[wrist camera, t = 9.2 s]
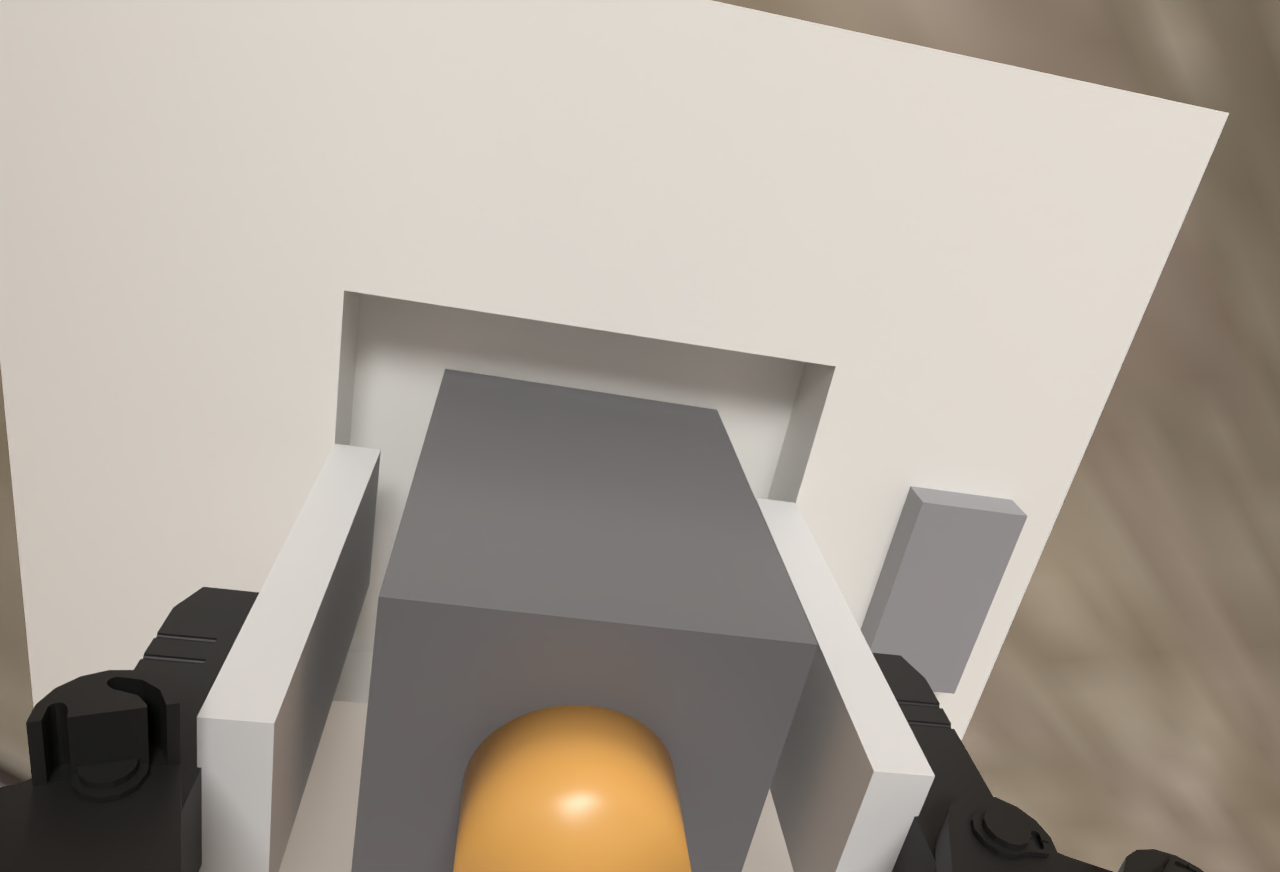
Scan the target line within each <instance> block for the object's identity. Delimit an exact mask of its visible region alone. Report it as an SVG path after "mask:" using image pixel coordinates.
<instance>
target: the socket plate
mask: <svg viewBox="0 0 1280 872" xmlns="http://www.w3.org/2000/svg"><path fill="white" fill-rule="evenodd" d="M1228 115H1229V113H1226V112H1221V111H1217V110H1212V109H1207V108H1203V107H1198V106H1194V105H1189V104H1184V103H1180V102H1175V101H1171V100H1166V99H1161V98H1157V97H1152V96H1148V95H1143V94H1139V93H1134V92H1129V91H1125V90H1120V89H1116V88H1111V87H1106V86H1102V85H1097V84H1093V83H1088V82H1083V81H1079V80H1074V79H1070V78H1065V77H1061V76H1056V75H1051V74H1047V73H1042V72H1038V71H1033V70H1028V69H1024V68H1019V67H1015V66H1010V65H1005V64H1001V63H996V62H992V61H987V60H982V59H978V58H973V57H969V56H964V55H960V54H955V53H950V52H946V51H941V50H937V49H932V48H927V47H923V46H918V45H914V44H909V43H904V42H900V41H895V40H891V39H886V38H882V37H877V36H872V35H868V34H863V33H859V32H854V31H849V30H845V29H840V28H836V27H831V26H826V25H822V24H817V23H813V22H808V21H803V20H799V19H794V18H790V17H785V16H781V15H776V14H771V13H767V12H762V11H758V10H753V9H748V8H744V7H739V6H735V5H730V4H725V3H721V2H716V1H712V0H0V364H1V375H2V385H3V395H4V406H5V416H6V426H7V437H8V447H9V457H10V468H11V478H12V489H13V499H14V509H15V520H16V530H17V540H18V551H19V561H20V571H21V582H22V592H23V602H24V613H25V623H26V633H27V644H28V654H29V665H30V675H31V685H32V696H33V706H34V707H35V705H36V704H37V703H38V702H39V701H40V700H41V699H43V698H44V697H45V696H46V695H47V694H49V693H50V692H51V691H52V690H53V689H55V688H56V687H59V686H61V685H63V684H65V683H67V682H69V681H72V680H74V679H76V678H78V677H80V676H84V675H89V674H93V673H98V672H102V671H107V670H134V668H135V667H136V665H137V664H138V662H139V660H140V659H143V656H144V653H145V651H146V649H147V648H148V646H149V645H150V643H151V642H152V640H153V638H156V637H157V632H158V631H159V629H160V627H161V626H162V624H163V623H164V621H165V620H166V618H167V616H168V615H169V613H170V612H171V610H172V609H173V607H174V606H176V605H177V604H179V603H180V602H182V601H183V600H185V599H186V598H188V597H189V596H191V595H192V594H193V593H195V592H196V591H198V590H199V589H201V588H202V587H211V588H221V589H230V590H240V591H250V592H260V590H261V589H262V587H263V585H264V583H265V581H266V579H267V577H268V575H269V573H270V571H271V569H272V567H273V565H274V563H275V561H276V559H277V557H278V555H279V553H280V551H281V549H282V547H283V545H284V543H285V541H286V539H287V537H288V535H289V533H290V531H291V529H292V527H293V525H294V523H295V521H296V519H297V517H298V515H299V513H300V511H301V509H302V507H303V505H304V503H305V501H306V499H307V497H308V495H309V493H310V491H311V489H312V487H313V485H314V483H315V481H316V479H317V477H318V475H319V473H320V471H321V469H322V467H323V465H324V463H325V461H326V459H327V457H328V455H329V453H330V451H331V449H332V447H333V445H335V444H341V445H349V446H357V447H364V448H372V449H380V450H381V453H380V465H379V477H378V489H377V501H376V513H375V524H374V536H373V548H372V560H371V572H370V584H369V588H368V591H367V594H366V597H365V600H364V604H363V607H362V610H361V613H360V616H359V619H358V622H357V626H356V629H355V632H354V635H353V638H352V641H351V645H350V648H349V651H348V654H347V657H346V660H345V664H344V667H343V670H342V673H341V676H340V679H339V683H338V686H337V689H336V692H335V695H334V698H333V701H332V705H331V708H330V711H329V714H328V717H327V720H326V724H325V727H324V730H323V733H322V736H321V739H320V743H319V746H318V749H317V752H316V755H315V758H314V761H313V765H312V768H311V771H310V774H309V777H308V780H307V784H306V787H305V790H304V793H303V796H302V799H301V803H300V806H299V809H298V812H297V815H296V818H295V822H294V825H293V828H292V831H291V834H290V837H289V840H288V844H287V847H286V850H285V853H284V856H283V859H282V863H281V866H280V869H279V872H351V869H352V858H353V848H354V838H355V828H356V818H357V808H358V798H359V788H360V778H361V768H362V758H363V748H364V738H365V728H366V718H367V708H368V698H369V687H370V677H371V667H372V657H373V647H374V637H375V627H376V617H377V607H378V597H379V593H380V590H381V586H382V583H383V580H384V576H385V573H386V569H387V566H388V563H389V559H390V556H391V552H392V549H393V545H394V542H395V539H396V535H397V532H398V528H399V525H400V522H401V518H402V515H403V511H404V508H405V504H406V501H407V498H408V494H409V491H410V487H411V484H412V481H413V477H414V474H415V470H416V467H417V463H418V460H419V457H420V453H421V450H422V446H423V443H424V439H425V436H426V433H427V429H428V426H429V422H430V419H431V416H432V412H433V409H434V405H435V402H436V398H437V395H438V392H439V388H440V385H441V381H442V378H443V375H444V371H445V369H451V370H457V371H464V372H471V373H477V374H484V375H490V376H497V377H504V378H510V379H517V380H523V381H530V382H537V383H543V384H550V385H556V386H563V387H570V388H576V389H583V390H590V391H596V392H603V393H609V394H616V395H623V396H629V397H636V398H642V399H649V400H656V401H662V402H669V403H675V404H682V405H689V406H695V407H702V408H709V409H715V410H718V413H719V415H720V417H721V420H722V422H723V424H724V427H725V429H726V431H727V434H728V436H729V438H730V441H731V443H732V445H733V448H734V450H735V452H736V455H737V457H738V459H739V462H740V464H741V466H742V469H743V471H744V473H745V476H746V478H747V480H748V483H749V485H750V487H751V490H752V492H753V494H754V497H755V498H761V499H769V500H777V501H785V502H793V503H795V504H796V505H797V507H798V509H799V511H800V513H801V515H802V516H803V518H804V520H805V522H806V524H807V526H808V528H809V530H810V532H811V534H812V536H813V538H814V540H815V542H816V544H817V546H818V548H819V550H820V552H821V554H822V556H823V558H824V560H825V562H826V564H827V565H828V567H829V569H830V571H831V573H832V575H833V577H834V579H835V581H836V583H837V585H838V587H839V589H840V591H841V593H842V595H843V597H844V599H845V601H846V603H847V605H848V607H849V609H850V611H851V612H852V614H853V616H854V618H855V620H856V622H857V624H858V626H859V628H860V630H861V632H862V634H863V636H864V638H865V640H866V642H867V644H868V646H869V648H870V650H871V652H872V653H881V654H891V655H901V656H902V657H903V658H904V659H905V660H906V661H907V662H908V663H909V664H910V665H911V666H913V667H914V668H915V669H916V670H917V671H918V672H919V673H920V674H921V675H922V676H923V677H924V678H925V679H926V680H927V682H928V684H929V686H930V687H931V689H932V691H933V693H934V694H935V696H936V698H937V700H938V701H939V703H940V705H939V707H940V708H943V710H944V712H945V714H946V715H947V717H948V719H949V721H950V722H951V729H955V731H956V733H957V735H958V736H959V738H960V740H962V738H963V736H964V733H965V731H966V729H967V726H968V724H969V722H970V719H971V717H972V715H973V712H974V710H975V708H976V705H977V703H978V701H979V698H980V696H981V694H982V691H983V689H984V687H985V684H986V682H987V680H988V677H989V675H990V673H991V670H992V668H993V666H994V663H995V661H996V658H997V656H998V654H999V651H1000V649H1001V647H1002V644H1003V642H1004V640H1005V637H1006V635H1007V633H1008V630H1009V628H1010V626H1011V623H1012V621H1013V619H1014V616H1015V614H1016V612H1017V609H1018V607H1019V605H1020V602H1021V600H1022V598H1023V595H1024V593H1025V591H1026V588H1027V586H1028V583H1029V581H1030V579H1031V576H1032V574H1033V572H1034V569H1035V567H1036V565H1037V562H1038V560H1039V558H1040V555H1041V553H1042V551H1043V548H1044V546H1045V544H1046V541H1047V539H1048V537H1049V534H1050V532H1051V530H1052V527H1053V525H1054V523H1055V520H1056V518H1057V516H1058V513H1059V511H1060V508H1061V506H1062V504H1063V501H1064V499H1065V497H1066V494H1067V492H1068V490H1069V487H1070V485H1071V483H1072V480H1073V478H1074V476H1075V473H1076V471H1077V469H1078V466H1079V464H1080V462H1081V459H1082V457H1083V455H1084V452H1085V450H1086V448H1087V445H1088V443H1089V441H1090V438H1091V436H1092V434H1093V431H1094V429H1095V426H1096V424H1097V422H1098V419H1099V417H1100V415H1101V412H1102V410H1103V408H1104V405H1105V403H1106V401H1107V398H1108V396H1109V394H1110V391H1111V389H1112V387H1113V384H1114V382H1115V380H1116V377H1117V375H1118V373H1119V370H1120V368H1121V366H1122V363H1123V361H1124V359H1125V356H1126V354H1127V351H1128V349H1129V347H1130V344H1131V342H1132V340H1133V337H1134V335H1135V333H1136V330H1137V328H1138V326H1139V323H1140V321H1141V319H1142V316H1143V314H1144V312H1145V309H1146V307H1147V305H1148V302H1149V300H1150V298H1151V295H1152V293H1153V291H1154V288H1155V286H1156V284H1157V281H1158V279H1159V277H1160V274H1161V272H1162V269H1163V267H1164V265H1165V262H1166V260H1167V258H1168V255H1169V253H1170V251H1171V248H1172V246H1173V244H1174V241H1175V239H1176V237H1177V234H1178V232H1179V230H1180V227H1181V225H1182V223H1183V220H1184V218H1185V216H1186V213H1187V211H1188V209H1189V206H1190V204H1191V202H1192V199H1193V197H1194V194H1195V192H1196V190H1197V187H1198V185H1199V183H1200V180H1201V178H1202V176H1203V173H1204V171H1205V169H1206V166H1207V164H1208V162H1209V159H1210V157H1211V155H1212V152H1213V150H1214V148H1215V145H1216V143H1217V141H1218V138H1219V136H1220V134H1221V131H1222V129H1223V127H1224V124H1225V122H1226V120H1227V117H1228ZM742 872H794V871H793V867H792V864H791V860H790V857H789V853H788V850H787V847H786V843H785V840H784V836H783V833H782V829H781V826H780V822H779V819H778V815H777V812H776V808H775V805H774V801H773V798H772V795H771V791H770V789H769V792H768V795H767V798H766V801H765V803H764V806H763V809H762V812H761V815H760V818H759V821H758V824H757V827H756V830H755V833H754V836H753V839H752V842H751V845H750V848H749V851H748V854H747V857H746V860H745V863H744V866H743V869H742Z"/></svg>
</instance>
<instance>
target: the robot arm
mask: <svg viewBox="0 0 1280 872" xmlns="http://www.w3.org/2000/svg"><path fill="white" fill-rule="evenodd" d="M380 453H381V450H380V449H372V448H364V447H357V446H349V445H341V444H335V445H333V447H332V449H331V451H330V453H329V455H328V457H327V459H326V461H325V463H324V465H323V467H322V469H321V471H320V473H319V475H318V477H317V479H316V481H315V483H314V485H313V487H312V489H311V491H310V493H309V495H308V497H307V499H306V501H305V503H304V505H303V507H302V509H301V511H300V513H299V515H298V517H297V519H296V521H295V523H294V525H293V527H292V529H291V531H290V533H289V535H288V537H287V539H286V541H285V543H284V545H283V547H282V549H281V551H280V553H279V555H278V557H277V559H276V561H275V563H274V565H273V567H272V569H271V571H270V573H269V575H268V577H267V579H266V581H265V583H264V585H263V587H262V589H261V590H260V592H250V591H240V590H230V589H221V588H211V587H202V588H201V589H199V590H198V591H196V592H195V593H193V594H192V595H191V596H189V597H188V598H186V599H185V600H183V601H182V602H180V603H179V604H177V605H176V606H174V607H173V609H172V610H171V612H170V613H169V615H168V616H167V618H166V620H165V621H164V623H163V624H162V626H161V627H160V629H159V631H158V632H157V637H156V638H153V640H152V642H151V643H150V645H149V646H148V648H147V649H146V651H145V653H144V656H143V659H140V660H139V662H138V664H137V665H136V667H135V668H134V670H107V671H102V672H98V673H93V674H89V675H84V676H80V677H78V678H76V679H74V680H72V681H69V682H67V683H65V684H63V685H61V686H59V687H56V688H55V689H53V690H52V691H51V692H50V693H49V694H47V695H46V696H45V697H44V698H43V699H41V700H40V701H39V702H38V703H37V704H36V705H35V707H34V709H33V711H32V713H31V714H30V716H29V718H28V720H27V722H26V725H27V735H28V745H29V755H30V764H31V774H32V779H30V780H27V781H25V782H22V783H18V784H14V785H10V786H5V787H1V788H0V872H279V869H280V866H281V863H282V859H283V856H284V853H285V850H286V847H287V844H288V840H289V837H290V834H291V831H292V828H293V825H294V822H295V818H296V815H297V812H298V809H299V806H300V803H301V799H302V796H303V793H304V790H305V787H306V784H307V780H308V777H309V774H310V771H311V768H312V765H313V761H314V758H315V755H316V752H317V749H318V746H319V743H320V739H321V736H322V733H323V730H324V727H325V724H326V720H327V717H328V714H329V711H330V708H331V705H332V701H333V698H334V695H335V692H336V689H337V686H338V683H339V679H340V676H341V673H342V670H343V667H344V664H345V660H346V657H347V654H348V651H349V648H350V645H351V641H352V638H353V635H354V632H355V629H356V626H357V622H358V619H359V616H360V613H361V610H362V607H363V604H364V600H365V597H366V594H367V591H368V588H369V584H370V572H371V560H372V548H373V536H374V524H375V513H376V501H377V489H378V477H379V465H380ZM755 499H756V501H757V504H758V506H759V508H760V511H761V513H762V515H763V518H764V520H765V522H766V525H767V527H768V529H769V532H770V534H771V536H772V539H773V541H774V543H775V546H776V548H777V550H778V553H779V555H780V557H781V560H782V562H783V564H784V567H785V569H786V571H787V574H788V576H789V578H790V581H791V583H792V585H793V588H794V590H795V592H796V595H797V597H798V599H799V602H800V604H801V606H802V609H803V611H804V613H805V616H806V618H807V620H808V623H809V625H810V627H811V630H812V632H813V634H814V637H815V639H816V641H817V644H818V646H817V649H816V652H815V655H814V658H813V661H812V664H811V667H810V670H809V673H808V676H807V679H806V682H805V685H804V688H803V691H802V694H801V697H800V700H799V703H798V706H797V709H796V712H795V715H794V718H793V721H792V723H791V726H790V729H789V732H788V735H787V738H786V741H785V744H784V747H783V750H782V753H781V756H780V759H779V762H778V765H777V768H776V771H775V774H774V777H773V780H772V783H771V786H770V791H771V795H772V798H773V801H774V805H775V808H776V812H777V815H778V819H779V822H780V826H781V829H782V833H783V836H784V840H785V843H786V847H787V850H788V853H789V857H790V860H791V864H792V867H793V871H794V872H1112V871H1109V870H1106V869H1103V868H1100V867H1097V866H1094V865H1091V864H1088V863H1085V862H1082V861H1079V860H1076V859H1073V858H1070V857H1067V856H1064V855H1062V854H1060V853H1057V851H1056V849H1055V846H1054V844H1053V842H1052V840H1051V838H1050V836H1049V835H1048V834H1047V833H1046V832H1045V831H1044V830H1043V828H1042V827H1041V826H1040V825H1039V824H1038V823H1037V822H1036V821H1035V820H1034V819H1033V818H1031V817H1030V816H1029V815H1027V814H1026V813H1025V812H1023V811H1022V810H1020V809H1019V808H1018V807H1016V806H1014V805H1011V804H1009V803H1007V802H1005V801H1003V800H1000V799H998V798H996V797H993V796H992V794H991V792H990V791H989V789H988V787H987V785H986V784H985V782H984V780H983V778H982V777H981V775H980V773H979V771H978V770H977V768H976V766H975V764H974V763H973V761H972V759H971V757H970V756H969V754H968V752H967V750H966V749H965V747H964V745H963V743H962V742H961V740H960V738H959V736H958V735H957V733H956V731H955V729H951V722H950V721H949V719H948V717H947V715H946V714H945V712H944V710H943V708H940V707H939V705H940V703H939V701H938V700H937V698H936V696H935V694H934V693H933V691H932V689H931V687H930V686H929V684H928V682H927V680H926V679H925V678H924V677H923V676H922V675H921V674H920V673H919V672H918V671H917V670H916V669H915V668H914V667H913V666H911V665H910V664H909V663H908V662H907V661H906V660H905V659H904V658H903V657H902V656H901V655H891V654H881V653H872V652H871V650H870V648H869V646H868V644H867V642H866V640H865V638H864V636H863V634H862V632H861V630H860V628H859V626H858V624H857V622H856V620H855V618H854V616H853V614H852V612H851V611H850V609H849V607H848V605H847V603H846V601H845V599H844V597H843V595H842V593H841V591H840V589H839V587H838V585H837V583H836V581H835V579H834V577H833V575H832V573H831V571H830V569H829V567H828V565H827V564H826V562H825V560H824V558H823V556H822V554H821V552H820V550H819V548H818V546H817V544H816V542H815V540H814V538H813V536H812V534H811V532H810V530H809V528H808V526H807V524H806V522H805V520H804V518H803V516H802V515H801V513H800V511H799V509H798V507H797V505H796V504H795V503H793V502H785V501H777V500H769V499H761V498H755ZM1118 872H1203V871H1202V870H1201V869H1199V868H1198V867H1196V866H1194V865H1192V864H1191V863H1189V862H1187V861H1185V860H1183V859H1181V858H1179V857H1177V856H1175V855H1172V854H1168V853H1165V852H1161V851H1158V850H1155V849H1151V850H1136V851H1135V852H1133V853H1132V854H1130V855H1129V856H1127V857H1126V858H1125V860H1124V862H1123V864H1122V866H1121V867H1120V869H1119V871H1118Z"/></svg>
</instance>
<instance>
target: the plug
mask: <svg viewBox="0 0 1280 872" xmlns="http://www.w3.org/2000/svg"><path fill="white" fill-rule="evenodd" d="M817 646H818V644H817V641H816V639H815V637H814V634H813V632H812V630H811V627H810V625H809V623H808V620H807V618H806V616H805V613H804V611H803V609H802V606H801V604H800V602H799V599H798V597H797V595H796V592H795V590H794V588H793V585H792V583H791V581H790V578H789V576H788V574H787V571H786V569H785V567H784V564H783V562H782V560H781V557H780V555H779V553H778V550H777V548H776V546H775V543H774V541H773V539H772V536H771V534H770V532H769V529H768V527H767V525H766V522H765V520H764V518H763V515H762V513H761V511H760V508H759V506H758V504H757V501H756V499H755V497H754V494H753V492H752V490H751V487H750V485H749V483H748V480H747V478H746V476H745V473H744V471H743V469H742V466H741V464H740V462H739V459H738V457H737V455H736V452H735V450H734V448H733V445H732V443H731V441H730V438H729V436H728V434H727V431H726V429H725V427H724V424H723V422H722V420H721V417H720V415H719V413H718V410H715V409H709V408H702V407H695V406H689V405H682V404H675V403H669V402H662V401H656V400H649V399H642V398H636V397H629V396H623V395H616V394H609V393H603V392H596V391H590V390H583V389H576V388H570V387H563V386H556V385H550V384H543V383H537V382H530V381H523V380H517V379H510V378H504V377H497V376H490V375H484V374H477V373H471V372H464V371H457V370H451V369H445V371H444V375H443V378H442V381H441V385H440V388H439V392H438V395H437V398H436V402H435V405H434V409H433V412H432V416H431V419H430V422H429V426H428V429H427V433H426V436H425V439H424V443H423V446H422V450H421V453H420V457H419V460H418V463H417V467H416V470H415V474H414V477H413V481H412V484H411V487H410V491H409V494H408V498H407V501H406V504H405V508H404V511H403V515H402V518H401V522H400V525H399V528H398V532H397V535H396V539H395V542H394V545H393V549H392V552H391V556H390V559H389V563H388V566H387V569H386V573H385V576H384V580H383V583H382V586H381V590H380V593H379V597H378V607H377V617H376V627H375V637H374V647H373V657H372V667H371V677H370V687H369V698H368V708H367V718H366V728H365V738H364V748H363V758H362V768H361V778H360V788H359V798H358V808H357V818H356V828H355V838H354V848H353V858H352V869H351V872H742V869H743V866H744V863H745V860H746V857H747V854H748V851H749V848H750V845H751V842H752V839H753V836H754V833H755V830H756V827H757V824H758V821H759V818H760V815H761V812H762V809H763V806H764V803H765V801H766V798H767V795H768V792H769V789H770V786H771V783H772V780H773V777H774V774H775V771H776V768H777V765H778V762H779V759H780V756H781V753H782V750H783V747H784V744H785V741H786V738H787V735H788V732H789V729H790V726H791V723H792V721H793V718H794V715H795V712H796V709H797V706H798V703H799V700H800V697H801V694H802V691H803V688H804V685H805V682H806V679H807V676H808V673H809V670H810V667H811V664H812V661H813V658H814V655H815V652H816V649H817Z"/></svg>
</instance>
